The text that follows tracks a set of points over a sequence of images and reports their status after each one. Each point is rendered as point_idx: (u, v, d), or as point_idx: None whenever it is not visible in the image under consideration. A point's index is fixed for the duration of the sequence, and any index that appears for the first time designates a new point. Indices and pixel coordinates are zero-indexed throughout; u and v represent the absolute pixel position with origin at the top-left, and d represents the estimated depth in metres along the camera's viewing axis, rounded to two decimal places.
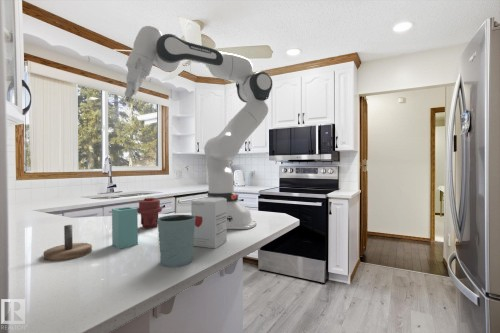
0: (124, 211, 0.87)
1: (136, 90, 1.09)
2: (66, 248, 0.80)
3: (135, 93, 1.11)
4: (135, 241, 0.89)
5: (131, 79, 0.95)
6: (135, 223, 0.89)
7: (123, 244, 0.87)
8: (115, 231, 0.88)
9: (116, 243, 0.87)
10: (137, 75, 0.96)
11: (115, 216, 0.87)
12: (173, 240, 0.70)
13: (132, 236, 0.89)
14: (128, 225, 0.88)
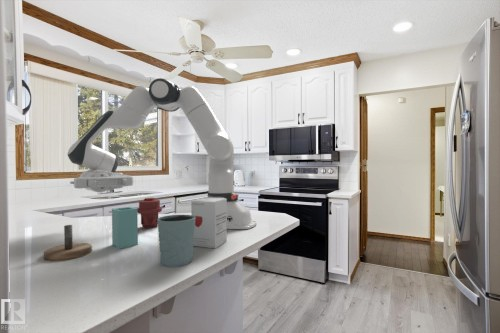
0: (124, 211, 0.87)
1: (118, 176, 1.05)
2: (66, 248, 0.80)
3: (125, 177, 1.07)
4: (135, 241, 0.89)
5: (77, 183, 0.95)
6: (135, 223, 0.89)
7: (123, 244, 0.87)
8: (115, 231, 0.88)
9: (116, 243, 0.87)
10: (74, 179, 0.96)
11: (115, 216, 0.87)
12: (173, 240, 0.70)
13: (132, 236, 0.89)
14: (128, 225, 0.88)
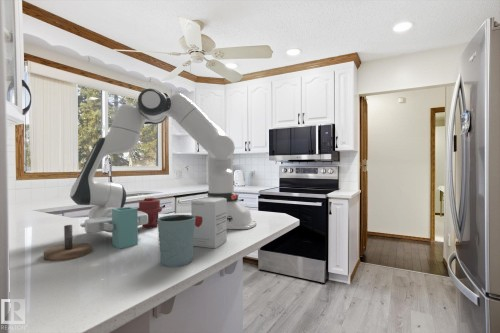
0: (124, 211, 0.87)
1: None
2: (66, 248, 0.80)
3: (140, 215, 0.98)
4: (135, 241, 0.89)
5: (88, 228, 0.86)
6: (135, 223, 0.89)
7: (123, 244, 0.87)
8: (115, 231, 0.88)
9: (116, 243, 0.87)
10: (85, 223, 0.87)
11: (115, 216, 0.87)
12: (173, 240, 0.70)
13: (132, 236, 0.89)
14: (128, 225, 0.88)
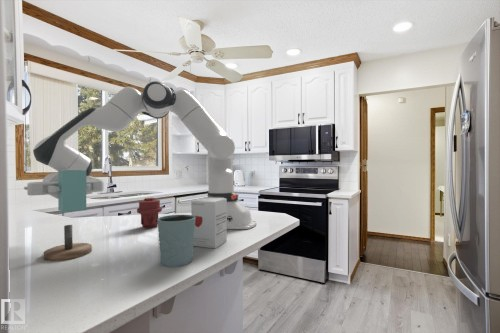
0: (70, 172, 0.79)
1: None
2: (66, 248, 0.80)
3: (93, 181, 0.89)
4: (83, 206, 0.81)
5: (29, 189, 0.78)
6: (83, 186, 0.81)
7: (68, 208, 0.79)
8: (60, 194, 0.80)
9: (60, 207, 0.79)
10: (27, 184, 0.79)
11: (60, 177, 0.79)
12: (173, 240, 0.70)
13: (79, 200, 0.81)
14: (74, 188, 0.80)
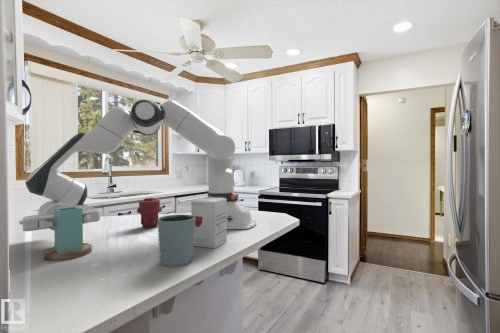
0: (66, 212, 0.78)
1: None
2: None
3: (90, 212, 0.89)
4: (79, 245, 0.81)
5: (24, 225, 0.77)
6: (80, 225, 0.81)
7: (64, 248, 0.78)
8: (56, 234, 0.79)
9: (57, 247, 0.78)
10: (22, 220, 0.78)
11: (56, 217, 0.79)
12: (173, 240, 0.70)
13: (76, 239, 0.80)
14: (71, 227, 0.79)
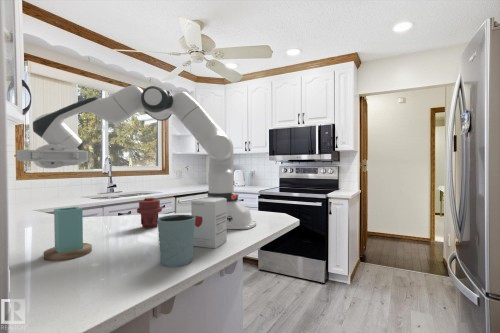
0: (66, 212, 0.78)
1: (70, 150, 0.96)
2: None
3: (78, 151, 0.98)
4: (79, 245, 0.81)
5: (18, 155, 0.86)
6: (80, 225, 0.81)
7: (64, 248, 0.78)
8: (56, 234, 0.79)
9: (57, 247, 0.78)
10: (17, 151, 0.87)
11: (56, 217, 0.79)
12: (173, 240, 0.70)
13: (76, 239, 0.80)
14: (71, 227, 0.79)
